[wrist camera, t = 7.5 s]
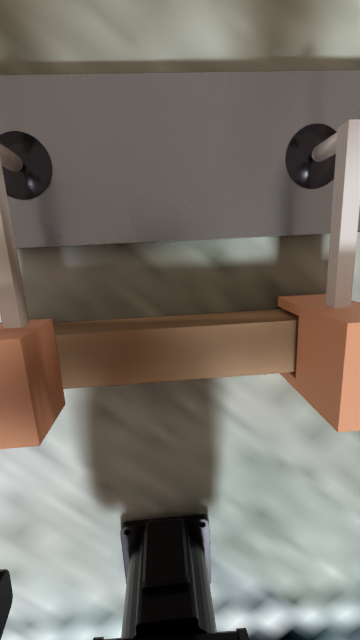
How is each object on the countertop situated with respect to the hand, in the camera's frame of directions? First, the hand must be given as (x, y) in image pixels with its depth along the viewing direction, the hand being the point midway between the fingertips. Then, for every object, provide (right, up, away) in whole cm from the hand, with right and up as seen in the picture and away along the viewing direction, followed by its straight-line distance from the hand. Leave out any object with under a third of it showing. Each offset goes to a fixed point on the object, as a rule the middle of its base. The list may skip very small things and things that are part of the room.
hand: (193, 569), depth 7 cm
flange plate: (0, +15, +9) cm, 17 cm away
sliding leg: (+7, +9, +10) cm, 16 cm away
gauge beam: (0, +9, +10) cm, 14 cm away
